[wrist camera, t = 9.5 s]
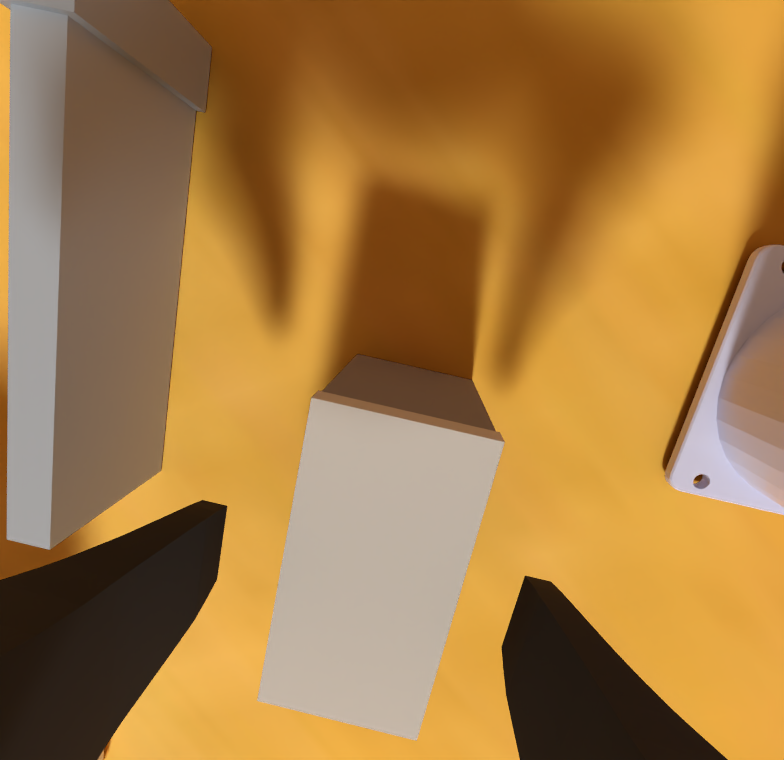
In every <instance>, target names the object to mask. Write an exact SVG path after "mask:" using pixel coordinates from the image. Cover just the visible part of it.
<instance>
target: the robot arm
mask: <svg viewBox="0 0 784 760" xmlns="http://www.w3.org/2000/svg"><path fill="white" fill-rule="evenodd" d="M783 262H784V246H783V245H765V246H762V247H760V248H757V249H756V250H755V251H754V252H753V253H752V254H751V256H750V257H749V259H748V261H747V264H746V266H745V269H744V271H743V274H742V276H741V279H740V282H739V284H738V287H737V289H736V292H735V294H734V297H733V299H732V302H731V305H730V307H729V310H728V312H727V315H726V317H725V320H724V322H723V325H722V328H721V330H720V333H719V335H718V338H717V340H716V343H715V345H714V348H713V351H712V353H711V356H710V358H709V361H708V363H707V366H706V368H705V371H704V374H703V376H702V379H701V381H700V384H699V386H698V389H697V391H696V394H695V397H694V399H693V402H692V404H691V407H690V409H689V412H688V414H687V417H686V420H685V422H684V425H683V427H682V430H681V432H680V435H679V437H678V440H677V443H676V445H675V448H674V450H673V453H672V455H671V458H670V460H669V463H668V466H667V468H666V471H665V478H666V481H667V482H668V483H669V484H670V485H671V486H672V487H673V488H674V489H676V490H679V491H682V492H686V493H691V494H695V495H699V496H704V497H708V498H712V499H717V500H721V501H725V502H730V503H734V504H738V505H743V506H747V507H752V508H756V509H760V510H765V511H769V512H773V513H778V514H782V515H784V273H783V272H782V269H781V267H782V263H783ZM700 474H703V476H702V479H701V481H700V482H698V483H696V484H693V480H694V478H695V477H696V476H698V475H700ZM226 511H227V506H225V505H221V504H217V503H212V502H208V501H204V500H202V501H199V502H197V503H194V504H192V505H189V506H187V507H185V508H183V509H180V510H178V511H176V512H174V513H172V514H169V515H167V516H165V517H163V518H161V519H159V520H156V521H154V522H152V523H150V524H147V525H145V526H143V527H141V528H138V529H136V530H134V531H132V532H129V533H127V534H125V535H123V536H120V537H118V538H115V539H113V540H110V541H108V542H105V543H103V544H101V545H98V546H96V547H93V548H91V549H88V550H86V551H83V552H81V553H78V554H76V555H73V556H71V557H68V558H65V559H62V560H60V561H57V562H54V563H51V564H48V565H46V566H43V567H40V568H37V569H34V570H31V571H27V572H24V573H21V574H18V575H15V576H12V577H9V578H6V579H2V580H0V760H98V758H99V756H100V755H101V753H102V752H103V750H104V748H105V747H106V745H107V743H108V742H109V740H110V739H111V737H112V736H113V734H114V733H115V731H116V730H117V728H118V727H119V725H120V724H121V722H122V721H123V719H124V718H125V717H126V715H127V714H128V712H129V711H130V710H131V708H132V707H133V705H134V704H135V703H136V701H137V700H138V698H139V697H140V696H141V694H142V693H143V692H144V690H145V689H146V687H147V686H148V685H149V683H150V682H151V680H152V679H153V678H154V676H155V675H156V673H157V672H158V671H159V669H160V668H161V666H162V665H163V664H164V662H165V661H166V660H167V658H168V657H169V655H170V654H171V653H172V651H173V650H174V648H175V647H176V646H177V644H178V643H179V641H180V640H181V638H182V637H183V636H184V634H185V633H186V631H187V630H188V629H189V627H190V626H191V624H192V623H193V621H194V620H195V618H196V616H197V615H198V613H199V611H200V609H201V608H202V606H203V604H204V602H205V601H206V599H207V597H208V595H209V593H210V591H211V589H212V588H213V586H214V584H215V582H216V580H217V575H218V568H219V561H220V554H221V547H222V540H223V532H224V525H225V518H226ZM502 657H503V669H504V679H505V688H506V696H507V701H508V706H509V711H510V715H511V720H512V725H513V729H514V734H515V739H516V743H517V748H518V752H519V757H520V760H728V759H726V758H725V757H724V756H723V755H722V754H721V753H720V752H718V751H717V750H716V749H715V748H714V747H713V746H712V745H711V744H710V743H708V742H707V741H706V740H705V739H704V738H703V737H702V736H701V735H699V734H698V733H697V732H696V731H695V730H694V729H693V728H692V727H691V726H689V725H688V724H687V723H686V722H685V721H684V720H683V719H682V718H681V717H680V716H679V715H678V714H677V713H675V712H674V711H673V710H672V709H671V708H670V707H669V706H668V705H667V704H666V703H665V702H664V701H663V700H662V699H661V698H660V697H659V696H658V695H657V694H656V693H655V692H654V691H653V690H652V689H651V688H650V687H649V686H648V685H647V684H646V683H645V682H644V681H643V680H642V679H641V678H640V677H639V676H638V675H637V674H636V673H635V672H634V671H633V670H632V669H631V668H630V667H629V666H628V665H627V663H626V662H625V661H624V660H623V659H622V658H621V657H620V656H619V655H618V654H617V653H616V652H615V651H614V650H613V649H612V647H611V646H610V645H609V644H608V643H607V642H606V641H605V640H604V639H603V638H602V637H601V635H600V634H599V633H598V632H597V631H596V630H595V629H594V628H593V627H592V626H591V624H590V623H589V622H588V621H587V620H586V619H585V618H584V617H583V615H582V614H581V613H580V612H579V611H578V610H577V609H576V608H575V607H574V605H573V604H572V603H571V602H570V601H569V600H568V599H567V598H566V597H565V596H564V595H563V593H562V592H561V591H560V590H559V589H558V588H557V587H556V586H555V585H554V584H553V583H552V582H550V581H546V580H541V579H537V578H533V577H529V576H525V578H524V581H523V584H522V587H521V590H520V593H519V596H518V599H517V602H516V605H515V608H514V611H513V614H512V617H511V620H510V623H509V626H508V629H507V632H506V635H505V638H504V641H503V645H502Z"/></svg>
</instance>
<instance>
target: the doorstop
mask: <svg viewBox="0 0 784 760" xmlns="http://www.w3.org/2000/svg"><path fill="white" fill-rule="evenodd" d="M503 446H504V440H503V438H502V436H501V434H500V432H496V431H495V429H494V426H493V424H492V422H491V420H490V418H489V416H488V413H487V411H486V409H485V407H484V405H483V403H482V400H481V398H480V396H479V394H478V392H477V390H476V387H475V385H474V383H473V381H472V380H470V379H466V378H461V377H457V376H452V375H448V374H444V373H439V372H435V371H430V370H426V369H422V368H417V367H413V366H408V365H404V364H400V363H395V362H391V361H386V360H382V359H378V358H373V357H369V356H364V355H360V354H357V355H356V356H355V357H354V358H353V359H352V360H351V361H350V362H349V363H348V364H347V365H346V367H345V368H344V369H343V370H342V371H341V372H340V373H339V374H338V375H337V376H336V377H335V378H334V379H333V380H332V381H331V382H330V383H329V384H328V386H327V387H326V388H325V389H324V390H323V391H318V392H317V393H316V394H315V395H314V396H313V397H312V398H311V403H310V409H309V414H308V420H307V426H306V431H305V437H304V442H303V448H302V454H301V459H300V465H299V470H298V476H297V482H296V487H295V493H294V498H293V504H292V510H291V515H290V521H289V526H288V532H287V537H286V543H285V549H284V554H283V560H282V565H281V571H280V577H279V582H278V588H277V593H276V599H275V605H274V610H273V616H272V621H271V627H270V633H269V638H268V644H267V649H266V655H265V661H264V666H263V672H262V677H261V683H260V689H259V694H258V700H257V701H260V702H264V703H268V704H272V705H276V706H280V707H284V708H288V709H292V710H296V711H300V712H304V713H308V714H312V715H316V716H320V717H324V718H328V719H332V720H336V721H340V722H344V723H348V724H352V725H356V726H360V727H364V728H368V729H372V730H376V731H380V732H384V733H388V734H392V735H396V736H400V737H404V738H408V739H412V740H416V741H417V738H418V734H419V731H420V727H421V724H422V721H423V717H424V714H425V711H426V707H427V704H428V700H429V697H430V694H431V690H432V687H433V683H434V680H435V677H436V673H437V670H438V666H439V663H440V660H441V656H442V653H443V649H444V646H445V643H446V639H447V636H448V632H449V629H450V626H451V622H452V619H453V615H454V612H455V609H456V605H457V602H458V599H459V595H460V592H461V588H462V585H463V582H464V578H465V575H466V571H467V568H468V565H469V561H470V558H471V554H472V551H473V548H474V544H475V541H476V537H477V534H478V531H479V527H480V524H481V520H482V517H483V514H484V510H485V507H486V504H487V500H488V497H489V493H490V490H491V487H492V483H493V480H494V476H495V473H496V470H497V466H498V463H499V459H500V456H501V453H502V449H503Z"/></svg>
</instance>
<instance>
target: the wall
mask: <svg viewBox="0 0 784 760" xmlns="http://www.w3.org/2000/svg"><path fill="white" fill-rule="evenodd" d="M0 3H1V4H3V5H4V6H6V7H7V8H9V9H10V10H11V13H10V150H9V288H8V426H7V540H11V541H15V542H19V543H23V544H28V545H32V546H36V547H40V548H44V549H48V550H50V549H52V548H53V547H55V546H56V545H57V544H59V543H60V542H62V541H63V540H64V539H66V538H67V537H69V536H70V535H71V534H73V533H74V532H76V531H77V530H78V529H80V528H81V527H83V526H84V525H85V524H87V523H88V522H90V521H91V520H92V519H94V518H95V517H97V516H98V515H99V514H101V513H102V512H104V511H105V510H106V509H108V508H109V507H111V506H112V505H113V504H115V503H116V502H118V501H119V500H121V499H122V498H123V497H125V496H126V495H128V494H129V493H130V492H132V491H133V490H135V489H136V488H137V487H139V486H140V485H142V484H143V483H144V482H146V481H147V480H149V479H150V478H151V477H153V476H154V475H156V474H157V473H158V472H160V471H161V467H162V456H163V446H164V436H165V425H166V415H167V405H168V394H169V384H170V374H171V364H172V353H173V343H174V333H175V322H176V312H177V302H178V291H179V281H180V271H181V261H182V250H183V240H184V230H185V219H186V209H187V199H188V188H189V178H190V168H191V158H192V147H193V137H194V127H195V116H196V111H201V112H205V111H206V101H207V91H208V82H209V72H210V62H211V52H212V47H211V46H210V45H209V44H208V42H207V41H206V40H205V39H204V38H203V37H202V36H201V35H200V34H199V33H198V32H197V30H196V29H195V28H194V27H193V26H192V25H191V24H190V23H189V22H188V21H187V19H186V18H185V17H184V16H183V15H182V14H181V13H180V12H179V11H178V10H177V9H176V7H175V6H174V5H173V4H172V3H171V2H170V1H169V0H0Z"/></svg>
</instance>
